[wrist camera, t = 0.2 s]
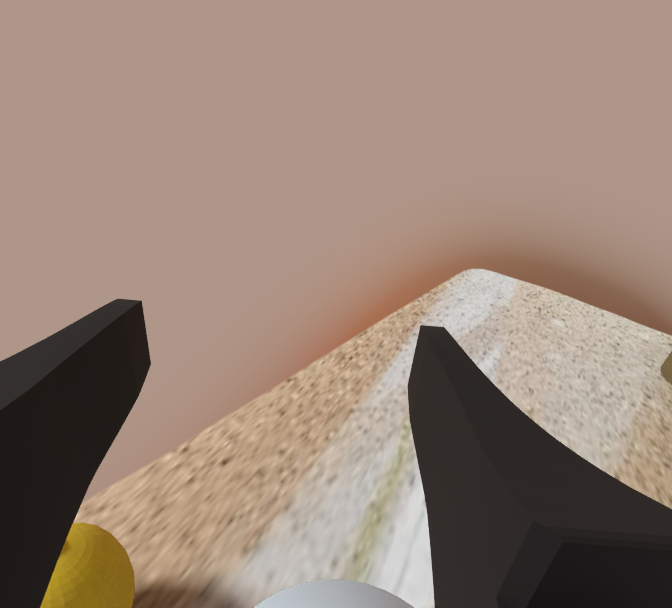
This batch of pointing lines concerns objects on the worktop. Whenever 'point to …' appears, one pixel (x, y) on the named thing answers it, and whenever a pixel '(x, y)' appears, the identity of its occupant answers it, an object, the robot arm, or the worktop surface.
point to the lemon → (91, 572)
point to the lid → (333, 596)
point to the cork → (667, 368)
